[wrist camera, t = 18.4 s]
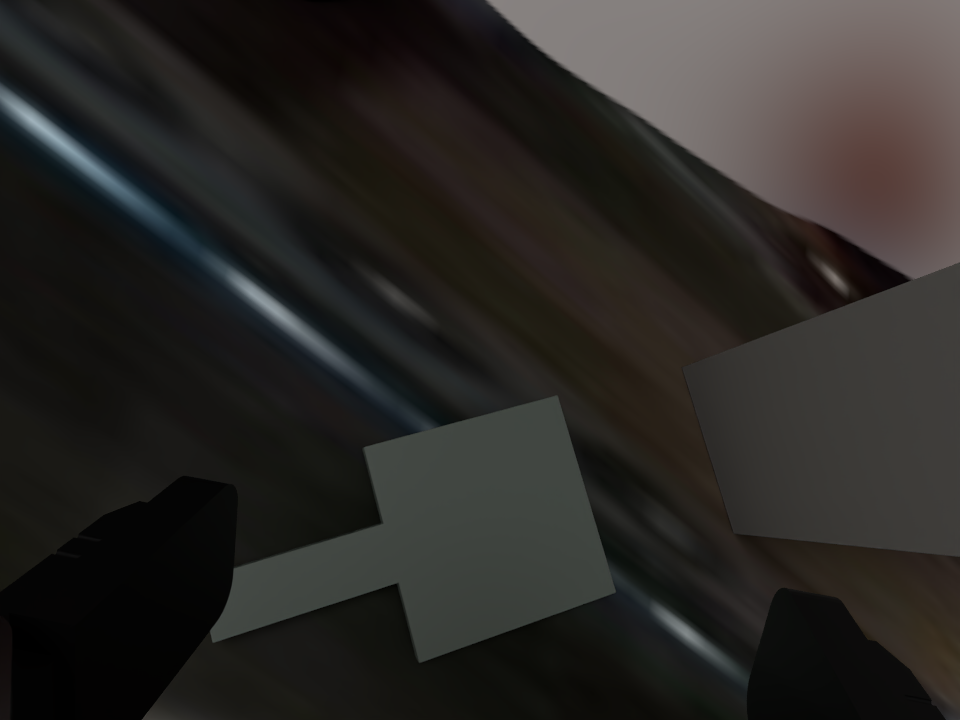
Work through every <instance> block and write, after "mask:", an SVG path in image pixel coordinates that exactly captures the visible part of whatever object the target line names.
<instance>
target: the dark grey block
mask: <svg viewBox="0 0 960 720" xmlns="http://www.w3.org/2000/svg"><path fill="white" fill-rule="evenodd" d="M682 370H683V373H684V376H685V379H686V383H687V386H688V389H689V392H690V395H691V399H692V402H693V405H694V408H695V411H696V415H697V418H698V421H699V424H700V427H701V431H702V434H703V437H704V440H705V443H706V447H707V450H708V453H709V456H710V459H711V463H712V466H713V469H714V472H715V475H716V479H717V482H718V485H719V488H720V491H721V495H722V498H723V501H724V504H725V507H726V511H727V514H728V517H729V520H730V523H731V527H732V530H733V533H734V534H743V535H752V536H762V537H772V538H782V539H791V540H801V541H811V542H821V543H831V544H840V545H850V546H860V547H870V548H879V549H889V550H899V551H909V552H918V553H928V554H938V555H948V556H958V557H960V263H958V264H955V265H952V266H949V267H947V268H944V269H942V270H939V271H936V272H934V273H931V274H928V275H926V276H923V277H920V278H918V279H915V280H912V281H910V282H907V283H904V284H902V285H899V286H896V287H894V288H891V289H889V290H886V291H883V292H881V293H878V294H875V295H873V296H870V297H867V298H865V299H862V300H859V301H857V302H854V303H851V304H849V305H846V306H843V307H841V308H838V309H836V310H833V311H830V312H828V313H825V314H822V315H820V316H817V317H814V318H812V319H809V320H806V321H804V322H801V323H798V324H796V325H793V326H790V327H788V328H785V329H783V330H780V331H777V332H775V333H772V334H769V335H767V336H764V337H761V338H759V339H756V340H753V341H751V342H748V343H745V344H743V345H740V346H738V347H735V348H732V349H730V350H727V351H724V352H722V353H719V354H716V355H714V356H711V357H708V358H706V359H703V360H700V361H698V362H695V363H692V364H690V365H687V366H685V367H682Z"/></svg>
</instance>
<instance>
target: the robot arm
mask: <svg viewBox="0 0 960 720" xmlns="http://www.w3.org/2000/svg"><path fill="white" fill-rule="evenodd" d="M237 506H238V496H237V490H236V488H235V486H234V485H232V484H227V483H221V482H216V481H211V480H205V479H200V478H194V477H189V476H182V477H180V478H178V479H177V480H176V481H175V482H173V483H172V484H171V485H169V486H168V487H167V488H166V489H164V490H163V491H162V492H161V493H159V494H158V495H157V496H156V497H154V498H153V499H152V500H151V501H149V502H148V503H146V502H141V501H139V502H136V503H134V504H131V505H128V506H126V507H123V508H121V509H118V510H116V511H113V512H110V513H108V514H105V515H103V516H102V517H101V518H99V519H98V520H97V521H95V522H94V523H93V524H91V525H90V526H89V527H87V528H86V529H85V530H83V531H82V532H81V533H79V536H78V538H73V539H71V540H70V541H68V542H67V543H66V544H64V545H63V546H62V547H60V548H59V549H58V550H57V553H56V555H54V554H51V555H50V556H48V557H47V558H46V559H44V560H43V561H42V562H40V563H39V564H38V565H36V566H35V567H33V568H32V569H31V570H29V571H28V572H27V573H25V574H24V575H23V576H21V577H20V578H19V579H17V580H16V581H15V582H13V583H12V584H11V585H9V586H8V587H7V588H5V589H4V590H3V591H1V592H0V720H142V719H143V717H144V716H145V715H146V713H147V712H148V711H149V709H150V708H151V707H152V706H153V704H154V703H155V702H156V700H157V699H158V698H159V696H160V695H161V694H162V693H163V691H164V690H165V689H166V687H167V686H168V685H169V683H170V682H171V681H172V680H173V678H174V677H175V676H176V674H177V673H178V672H179V670H180V669H181V668H182V667H183V665H184V664H185V663H186V661H187V660H188V659H189V657H190V656H191V655H192V654H193V652H194V651H195V650H196V648H197V647H198V646H199V644H200V643H201V642H202V641H203V639H204V638H205V637H206V635H207V634H208V633H209V631H210V630H211V629H212V627H213V626H214V625H215V624H216V622H217V621H218V619H219V618H220V616H221V614H222V613H223V610H224V608H225V606H226V604H227V601H228V598H229V595H230V591H231V587H232V581H233V571H234V555H235V539H236V522H237ZM747 714H748V720H946V719H945V718H944V717H943V715H942V714H941V712H940V711H939V710H938V708H937V707H936V706H933V705H932V704H931V698H930V697H929V696H928V694H927V693H926V691H925V690H924V689H923V687H922V686H921V684H920V683H919V682H918V680H917V679H916V677H915V676H914V675H913V673H912V672H911V670H910V669H909V668H907V667H906V666H905V665H904V664H903V663H901V662H900V661H899V660H898V659H897V658H895V657H894V656H893V655H892V654H891V653H889V652H888V651H887V650H886V649H885V648H884V647H882V646H881V645H880V644H879V643H878V642H876V641H871V640H867V638H866V637H865V635H864V634H863V632H862V631H861V629H860V628H859V626H858V625H857V623H856V622H855V620H854V619H853V617H852V616H851V614H850V613H849V611H848V610H847V609H846V607H845V606H844V604H843V603H842V602H841V600H839V599H838V598H835V597H830V596H825V595H820V594H814V593H809V592H803V591H798V590H793V589H787V588H781V589H779V590H778V591H777V592H776V594H775V595H774V598H773V600H772V603H771V606H770V609H769V613H768V616H767V620H766V623H765V627H764V630H763V633H762V637H761V640H760V644H759V647H758V651H757V654H756V658H755V661H754V665H753V668H752V671H751V675H750V679H749V683H748V691H747Z"/></svg>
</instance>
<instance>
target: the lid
mask: <svg viewBox="0 0 960 720" xmlns="http://www.w3.org/2000/svg"><path fill="white" fill-rule="evenodd" d="M362 450H363V454H364V458H365V462H366V466H367V470H368V474H369V478H370V481H371V485H372V489H373V493H374V497H375V501H376V505H377V509H378V513H379V516H380V520H381V523H379V524H376V525H372V526H369V527H365V528H362V529H359V530H355V531H352V532H349V533H345V534H342V535H339V536H335V537H332V538H329V539H325V540H322V541H319V542H315V543H312V544H309V545H305V546H302V547H299V548H295V549H292V550H289V551H285V552H282V553H279V554H275V555H272V556H268V557H265V558H262V559H258V560H255V561H252V562H248V563H245V564H242V565H238V566H235V567H234V571H233V581H232V587H231V591H230V595H229V598H228V601H227V604H226V606H225V608H224V610H223V613H222V614H221V616H220V618H219V619H218V621H217V622H216V624H215V625H214V626H213V627H212V629H211V630H210V633H211V637H212V642H213V643H214V642H217V641H220V640H223V639H226V638H229V637H232V636H235V635H238V634H242V633H245V632H248V631H251V630H254V629H257V628H260V627H263V626H266V625H269V624H272V623H275V622H279V621H282V620H285V619H288V618H291V617H294V616H297V615H300V614H303V613H306V612H309V611H312V610H316V609H319V608H322V607H325V606H328V605H331V604H334V603H337V602H340V601H343V600H346V599H349V598H353V597H356V596H359V595H362V594H365V593H368V592H371V591H374V590H377V589H380V588H383V587H386V586H390V585H393V584H396V583H397V586H398V590H399V594H400V598H401V602H402V606H403V610H404V614H405V617H406V621H407V625H408V629H409V633H410V637H411V641H412V645H413V649H414V652H415V656H416V659H417V660H418V662H419V663H421V662H424V661H426V660H429V659H432V658H435V657H437V656H440V655H443V654H446V653H449V652H451V651H454V650H457V649H460V648H463V647H465V646H468V645H471V644H474V643H477V642H479V641H482V640H485V639H488V638H490V637H493V636H496V635H499V634H502V633H504V632H507V631H510V630H513V629H516V628H518V627H521V626H524V625H527V624H530V623H532V622H535V621H538V620H541V619H543V618H546V617H549V616H552V615H555V614H557V613H560V612H563V611H566V610H569V609H571V608H574V607H577V606H580V605H583V604H585V603H588V602H591V601H594V600H597V599H599V598H602V597H605V596H608V595H610V594H613V593H616V591H615V587H614V584H613V581H612V577H611V574H610V570H609V567H608V564H607V560H606V557H605V554H604V550H603V547H602V543H601V540H600V537H599V533H598V530H597V527H596V523H595V520H594V517H593V513H592V510H591V506H590V503H589V500H588V496H587V493H586V490H585V486H584V483H583V480H582V476H581V473H580V469H579V466H578V463H577V459H576V456H575V453H574V449H573V446H572V443H571V439H570V436H569V432H568V429H567V426H566V422H565V419H564V416H563V412H562V409H561V406H560V402H559V399H558V395H557V396H553V397H550V398H546V399H542V400H539V401H535V402H531V403H527V404H524V405H520V406H516V407H512V408H509V409H505V410H501V411H497V412H494V413H490V414H486V415H483V416H479V417H475V418H471V419H468V420H464V421H460V422H456V423H453V424H449V425H445V426H441V427H438V428H434V429H430V430H427V431H423V432H419V433H415V434H412V435H408V436H404V437H400V438H397V439H393V440H389V441H385V442H382V443H378V444H374V445H371V446H367V447H364V448H363V449H362Z"/></svg>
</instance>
